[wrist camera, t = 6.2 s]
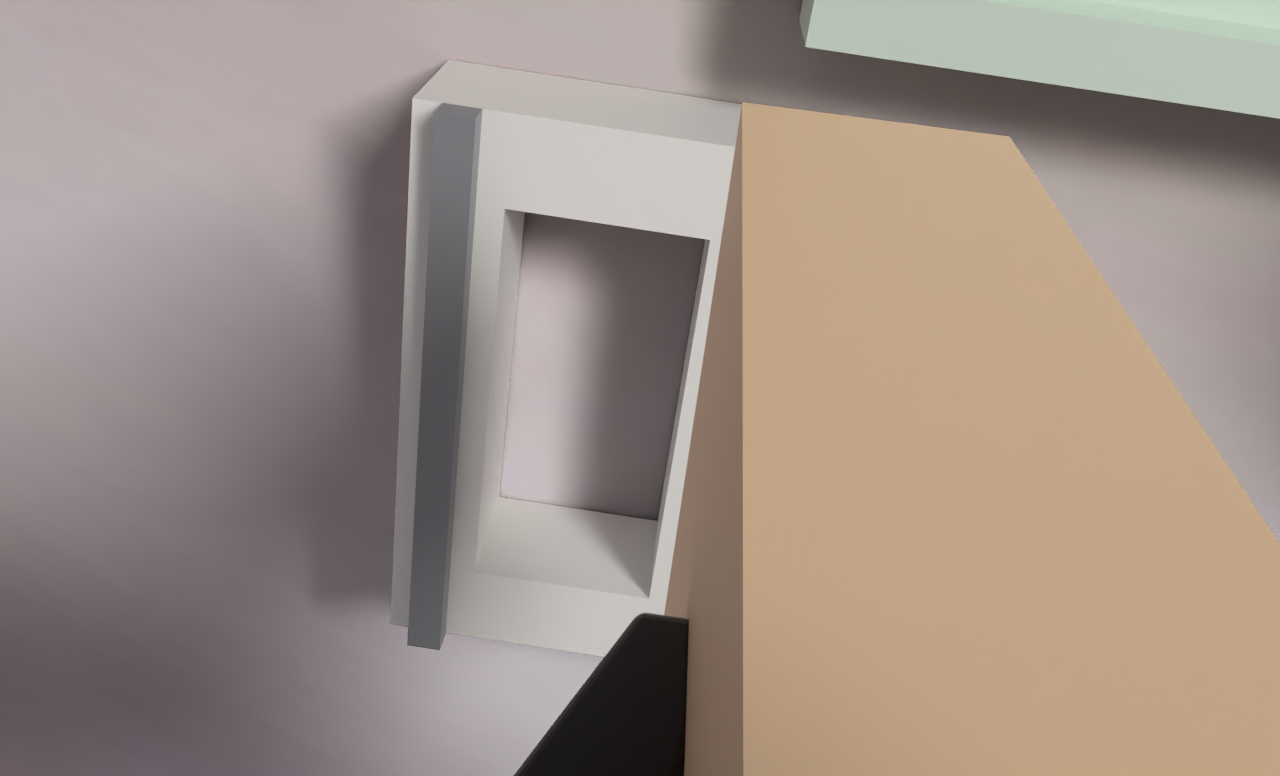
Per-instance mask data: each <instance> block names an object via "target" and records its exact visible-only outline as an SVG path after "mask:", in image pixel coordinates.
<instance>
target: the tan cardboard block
mask: <svg viewBox="0 0 1280 776" xmlns="http://www.w3.org/2000/svg"><path fill="white" fill-rule="evenodd" d="M664 615H667V616H674V617H682V618H687V619H688V620H689V636H688V670H687V704H686V737H685V762H684V776H1280V543H1279V541H1278V540H1277V538H1276V537H1275V535H1274V534H1273V532H1272V531H1271V529H1270V528H1269V526H1268V525H1267V523H1266V522H1265V520H1264V519H1263V517H1262V516H1261V514H1260V513H1259V511H1258V510H1257V508H1256V507H1255V505H1254V504H1253V502H1252V500H1251V499H1250V497H1249V496H1248V494H1247V493H1246V491H1245V490H1244V488H1243V487H1242V485H1241V484H1240V482H1239V481H1238V479H1237V478H1236V476H1235V475H1234V473H1233V472H1232V470H1231V469H1230V467H1229V466H1228V464H1227V463H1226V461H1225V460H1224V458H1223V457H1222V455H1221V454H1220V452H1219V451H1218V449H1217V448H1216V446H1215V445H1214V443H1213V442H1212V440H1211V439H1210V437H1209V436H1208V434H1207V433H1206V431H1205V430H1204V428H1203V427H1202V425H1201V424H1200V422H1199V421H1198V419H1197V418H1196V416H1195V415H1194V413H1193V412H1192V410H1191V409H1190V407H1189V406H1188V404H1187V403H1186V401H1185V400H1184V398H1183V397H1182V395H1181V394H1180V392H1179V391H1178V389H1177V388H1176V386H1175V385H1174V383H1173V382H1172V380H1171V379H1170V377H1169V376H1168V374H1167V373H1166V371H1165V370H1164V368H1163V366H1162V365H1161V363H1160V362H1159V360H1158V359H1157V357H1156V356H1155V354H1154V353H1153V351H1152V350H1151V348H1150V347H1149V345H1148V344H1147V342H1146V341H1145V339H1144V338H1143V336H1142V335H1141V333H1140V332H1139V330H1138V329H1137V327H1136V326H1135V324H1134V323H1133V321H1132V320H1131V318H1130V317H1129V315H1128V314H1127V312H1126V311H1125V309H1124V308H1123V306H1122V305H1121V303H1120V302H1119V300H1118V299H1117V297H1116V296H1115V294H1114V293H1113V291H1112V290H1111V288H1110V287H1109V285H1108V284H1107V282H1106V281H1105V279H1104V278H1103V276H1102V275H1101V273H1100V272H1099V270H1098V269H1097V267H1096V266H1095V264H1094V263H1093V261H1092V260H1091V258H1090V257H1089V255H1088V254H1087V252H1086V251H1085V249H1084V248H1083V246H1082V245H1081V243H1080V242H1079V240H1078V239H1077V237H1076V236H1075V234H1074V233H1073V231H1072V229H1071V228H1070V226H1069V225H1068V223H1067V222H1066V220H1065V219H1064V217H1063V216H1062V214H1061V213H1060V211H1059V210H1058V208H1057V207H1056V205H1055V204H1054V202H1053V201H1052V199H1051V198H1050V196H1049V195H1048V193H1047V192H1046V190H1045V189H1044V187H1043V186H1042V184H1041V183H1040V181H1039V180H1038V178H1037V177H1036V175H1035V174H1034V172H1033V171H1032V169H1031V168H1030V166H1029V165H1028V163H1027V162H1026V160H1025V159H1024V157H1023V156H1022V154H1021V153H1020V151H1019V150H1018V148H1017V147H1016V145H1015V144H1014V142H1013V141H1012V139H1011V138H1010V137H1009V136H1001V135H993V134H985V133H978V132H970V131H962V130H954V129H947V128H939V127H931V126H923V125H916V124H908V123H900V122H892V121H885V120H877V119H869V118H861V117H854V116H846V115H838V114H830V113H823V112H815V111H807V110H799V109H792V108H784V107H776V106H768V105H761V104H753V103H745V102H742V106H741V113H740V119H739V126H738V133H737V139H736V146H735V152H734V159H733V165H732V172H731V179H730V185H729V192H728V198H727V205H726V211H725V218H724V225H723V231H722V238H721V244H720V251H719V257H718V264H717V271H716V277H715V284H714V290H713V297H712V303H711V310H710V317H709V323H708V330H707V336H706V343H705V349H704V356H703V363H702V369H701V376H700V382H699V389H698V395H697V402H696V409H695V415H694V422H693V428H692V435H691V441H690V448H689V455H688V461H687V468H686V474H685V481H684V487H683V494H682V501H681V507H680V514H679V520H678V527H677V533H676V540H675V547H674V553H673V560H672V566H671V573H670V579H669V586H668V593H667V599H666V606H665V612H664Z"/></svg>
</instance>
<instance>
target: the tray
mask: <svg viewBox="0 0 1280 776" xmlns="http://www.w3.org/2000/svg"><path fill="white" fill-rule="evenodd" d="M799 20H800V25H801V30H802V35H803V39H804V44H805V47H809V48H815V49H822V50H828V51H835V52H842V53H848V54H855V55H862V56H868V57H875V58H881V59H888V60H895V61H901V62H908V63H914V64H921V65H928V66H934V67H941V68H948V69H954V70H961V71H967V72H974V73H981V74H987V75H994V76H1000V77H1007V78H1014V79H1020V80H1027V81H1034V82H1040V83H1047V84H1053V85H1060V86H1067V87H1073V88H1080V89H1087V90H1093V91H1100V92H1106V93H1113V94H1120V95H1126V96H1133V97H1139V98H1146V99H1153V100H1159V101H1166V102H1173V103H1179V104H1186V105H1192V106H1199V107H1206V108H1212V109H1219V110H1225V111H1232V112H1239V113H1245V114H1252V115H1259V116H1265V117H1272V118H1278V119H1280V0H803V1H802V6H801V11H800V16H799Z"/></svg>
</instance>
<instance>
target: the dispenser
mask: <svg viewBox="0 0 1280 776" xmlns="http://www.w3.org/2000/svg"><path fill="white" fill-rule="evenodd" d="M741 106H742V104H737V103H730V102H724V101H717V100H711V99H704V98H697V97H691V96H684V95H677V94H671V93H664V92H658V91H651V90H644V89H638V88H631V87H625V86H618V85H611V84H605V83H598V82H592V81H585V80H578V79H572V78H565V77H559V76H552V75H545V74H539V73H532V72H526V71H519V70H512V69H506V68H499V67H493V66H486V65H479V64H473V63H466V62H459V61H453V60H448V61H447V62H446V63H445V64H444V65H443V66H442V67H441V68H440V69H439V71H438V72H437V73H436V74H435V75H434V76H433V77H432V78H431V79H430V80H429V81H428V82H427V83H426V84H425V85H424V86H423V87H422V88H421V90H420V91H419V92H418V93H417V94H416V95H415V96H414V97H413V98H412V117H411V141H410V165H409V189H408V213H407V237H406V261H405V285H404V308H403V332H402V356H401V380H400V404H399V428H398V452H397V476H396V499H395V523H394V547H393V571H392V595H391V619H390V624H393V625H400V626H406V627H408V644H407V645H410V646H416V647H423V648H429V649H436V650H440V648H441V645H442V642H443V639H444V636H445V633H452V634H458V635H465V636H471V637H478V638H485V639H491V640H498V641H504V642H511V643H517V644H524V645H530V646H537V647H543V648H550V649H556V650H563V651H569V652H576V653H582V654H589V655H595V656H602V657H605V656H606V654H607V653H608V652H609V650H610V649H611V648H612V646H613V645H614V644H615V643H616V641H617V640H618V639H619V637H620V636H621V635H622V633H623V632H624V631H625V629H626V628H627V627H628V625H629V624H630V623H631V622H632V620H633V619H634V618H635V617H636V616H637V615H639V614H641V613H652V614H660V615H664V612H665V606H666V599H667V593H668V586H669V579H670V573H671V566H672V560H673V553H674V547H675V540H676V533H677V527H678V520H679V514H680V507H681V501H682V494H683V487H684V481H685V474H686V468H687V461H688V455H689V448H690V441H691V435H692V428H693V422H694V415H695V409H696V402H697V395H698V389H699V382H700V376H701V369H702V363H703V356H704V349H705V343H706V336H707V330H708V323H709V317H710V310H711V303H712V297H713V290H714V284H715V277H716V271H717V264H718V257H719V251H720V244H721V238H722V231H723V225H724V218H725V211H726V205H727V198H728V192H729V185H730V179H731V172H732V165H733V159H734V152H735V146H736V139H737V133H738V126H739V119H740V113H741ZM525 212H529V213H536V214H542V215H549V216H555V217H562V218H568V219H575V220H582V221H588V222H595V223H601V224H608V225H615V226H621V227H628V228H634V229H641V230H647V231H654V232H661V233H667V234H674V235H680V236H687V237H694V238H700V239H705V242H704V248H703V254H702V260H701V266H700V272H699V278H698V284H697V290H696V296H695V302H694V308H693V314H692V319H691V325H690V331H689V337H688V343H687V349H686V355H685V361H684V367H683V373H682V379H681V385H680V391H679V397H678V403H677V409H676V415H675V421H674V427H673V432H672V438H671V444H670V450H669V456H668V462H667V468H666V474H665V480H664V486H663V492H662V498H661V504H660V510H659V516H658V521H654V520H647V519H641V518H634V517H628V516H621V515H615V514H608V513H602V512H595V511H589V510H582V509H575V508H569V507H562V506H556V505H549V504H543V503H536V502H530V501H523V500H517V499H510V498H504V497H499V493H500V482H501V471H502V460H503V449H504V438H505V428H506V417H507V406H508V395H509V384H510V373H511V362H512V351H513V340H514V329H515V318H516V307H517V296H518V285H519V274H520V263H521V252H522V241H523V230H524V219H525Z"/></svg>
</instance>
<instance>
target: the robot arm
mask: <svg viewBox="0 0 1280 776" xmlns="http://www.w3.org/2000/svg"><path fill="white" fill-rule="evenodd" d="M688 636H689V620H688V619H687V618H682V617H674V616H667V615H660V614H652V613H641V614H639V615H637V616H636V617H635V618H634V619H633V620H632V622H631V623H630V624H629V625H628V627H627V628H626V629H625V631H624V632H623V633H622V635H621V636H620V637H619V639H618V640H617V641H616V643H615V644H614V645H613V646H612V648H611V649H610V650H609V652H608V653H607V654H606V656H605V657H604V658H603V660H602V661H601V662H600V663H599V665H598V666H597V667H596V669H595V670H594V671H593V673H592V674H591V675H590V677H589V678H588V679H587V680H586V682H585V683H584V684H583V686H582V687H581V688H580V690H579V691H578V692H577V694H576V695H575V696H574V697H573V699H572V700H571V701H570V703H569V704H568V705H567V707H566V708H565V709H564V711H563V712H562V713H561V715H560V716H559V717H558V718H557V720H556V721H555V722H554V724H553V725H552V726H551V728H550V729H549V730H548V732H547V733H546V734H545V735H544V737H543V738H542V739H541V741H540V742H539V743H538V745H537V746H536V747H535V749H534V750H533V751H532V752H531V754H530V755H529V756H528V758H527V759H526V760H525V762H524V763H523V764H522V766H521V767H520V768H519V769H518V771H517V772H516V773H515V775H514V776H684V762H685V737H686V704H687V670H688Z"/></svg>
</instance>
